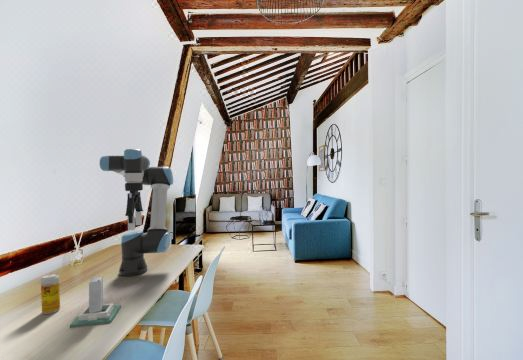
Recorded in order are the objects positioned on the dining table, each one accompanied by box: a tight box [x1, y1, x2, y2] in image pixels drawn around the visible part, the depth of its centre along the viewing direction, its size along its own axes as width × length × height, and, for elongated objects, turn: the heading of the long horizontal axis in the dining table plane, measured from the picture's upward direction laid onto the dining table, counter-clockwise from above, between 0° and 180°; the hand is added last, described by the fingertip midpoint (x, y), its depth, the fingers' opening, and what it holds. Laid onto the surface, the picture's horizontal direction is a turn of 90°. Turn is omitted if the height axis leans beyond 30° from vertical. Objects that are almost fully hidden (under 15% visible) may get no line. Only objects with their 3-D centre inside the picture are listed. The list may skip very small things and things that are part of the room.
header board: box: [69, 302, 122, 328], centre depth 110 cm, size 13×14×3 cm
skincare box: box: [88, 275, 104, 313], centre depth 109 cm, size 6×4×12 cm
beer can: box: [40, 273, 61, 315], centre depth 115 cm, size 6×6×15 cm
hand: (135, 227), depth 129 cm, fingers open, 13 cm apart
